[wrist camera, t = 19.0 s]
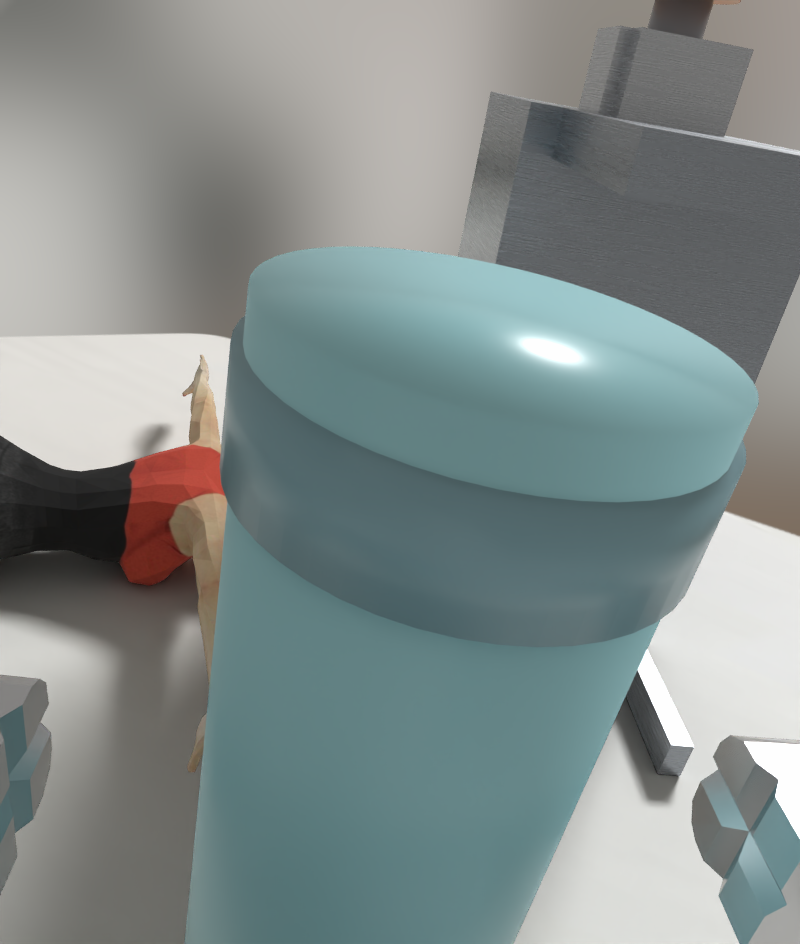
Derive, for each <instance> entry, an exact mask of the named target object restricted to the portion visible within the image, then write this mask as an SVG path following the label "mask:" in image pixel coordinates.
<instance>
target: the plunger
mask: <svg viewBox="0 0 800 944" xmlns="http://www.w3.org/2000/svg"><path fill="white" fill-rule="evenodd" d="M740 2H741V0H655V3H654V6H653V10H652V14H651V17H650V21H649V24H648V28H649V29H654V30H659V31H664V32H669V33H674V34H679V35H684V36H689V37H694V38H698V39H702V38H703V35H704V32H705V29H706V25H707V22H708V19H709V15H710V12H711V9H712V6H713V4H722V5H724V4H725V5H729V4H738V3H740Z"/></svg>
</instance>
